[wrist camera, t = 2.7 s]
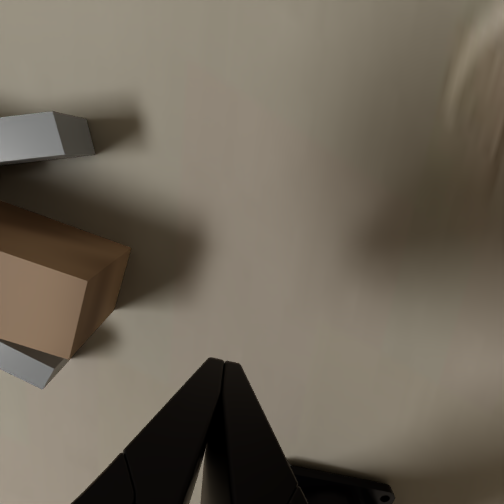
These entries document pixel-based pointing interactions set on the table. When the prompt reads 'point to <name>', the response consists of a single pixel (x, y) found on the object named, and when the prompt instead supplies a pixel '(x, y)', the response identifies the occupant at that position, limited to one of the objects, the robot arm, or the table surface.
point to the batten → (55, 281)
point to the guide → (31, 150)
